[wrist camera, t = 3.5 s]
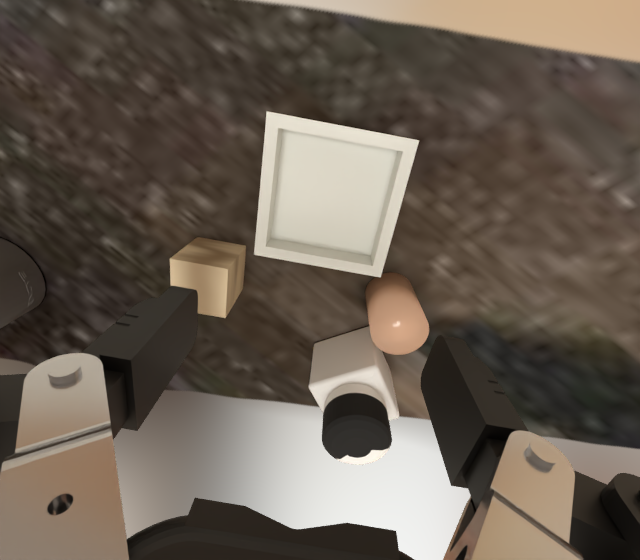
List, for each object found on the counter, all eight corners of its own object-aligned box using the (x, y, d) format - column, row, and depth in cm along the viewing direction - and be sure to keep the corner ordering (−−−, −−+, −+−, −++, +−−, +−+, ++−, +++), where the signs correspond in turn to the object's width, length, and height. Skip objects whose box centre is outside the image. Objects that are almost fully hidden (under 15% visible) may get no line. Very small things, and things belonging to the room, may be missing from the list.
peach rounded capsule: (360, 309, 36) (364, 349, 29) (371, 268, 34) (378, 301, 27) (405, 317, 36) (419, 358, 30) (418, 277, 34) (436, 312, 27)
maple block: (197, 280, 35) (171, 308, 30) (197, 236, 33) (169, 258, 28) (243, 288, 35) (225, 317, 30) (246, 245, 33) (228, 269, 28)
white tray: (261, 244, 33) (254, 254, 30) (274, 112, 28) (266, 111, 25) (377, 265, 33) (380, 277, 31) (411, 138, 28) (419, 140, 25)
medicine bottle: (312, 342, 38) (301, 429, 27) (371, 324, 36) (384, 408, 26) (335, 386, 41) (333, 481, 30) (391, 371, 39) (410, 465, 28)
